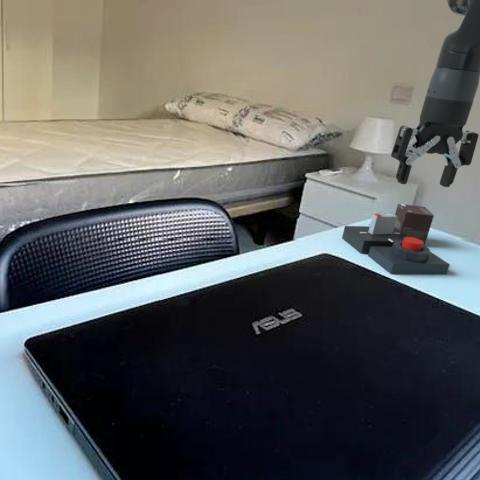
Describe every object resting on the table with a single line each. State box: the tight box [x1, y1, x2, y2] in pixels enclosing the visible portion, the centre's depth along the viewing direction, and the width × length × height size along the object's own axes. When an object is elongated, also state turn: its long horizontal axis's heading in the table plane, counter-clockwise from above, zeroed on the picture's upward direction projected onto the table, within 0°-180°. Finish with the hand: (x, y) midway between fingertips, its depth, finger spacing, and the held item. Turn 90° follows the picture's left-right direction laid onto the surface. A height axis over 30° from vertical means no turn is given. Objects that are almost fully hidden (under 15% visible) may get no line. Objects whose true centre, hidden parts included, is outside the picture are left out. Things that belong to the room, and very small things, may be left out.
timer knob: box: [368, 213, 397, 235], centre depth 105 cm, size 5×1×4 cm, turn 104°
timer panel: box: [341, 224, 409, 255], centre depth 106 cm, size 12×9×3 cm
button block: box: [367, 240, 451, 275], centre depth 98 cm, size 12×8×4 cm, turn 99°
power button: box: [402, 237, 424, 251], centre depth 97 cm, size 4×4×2 cm
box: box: [394, 203, 435, 246], centre depth 110 cm, size 6×6×7 cm
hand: (423, 184), depth 94 cm, fingers open, 8 cm apart
